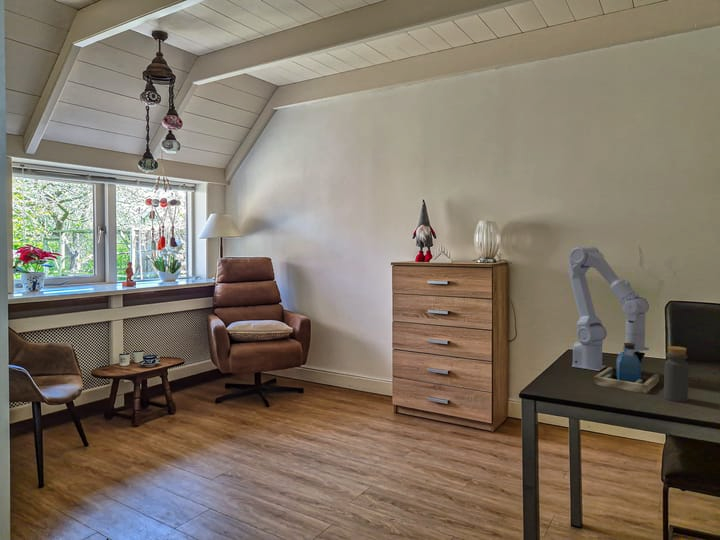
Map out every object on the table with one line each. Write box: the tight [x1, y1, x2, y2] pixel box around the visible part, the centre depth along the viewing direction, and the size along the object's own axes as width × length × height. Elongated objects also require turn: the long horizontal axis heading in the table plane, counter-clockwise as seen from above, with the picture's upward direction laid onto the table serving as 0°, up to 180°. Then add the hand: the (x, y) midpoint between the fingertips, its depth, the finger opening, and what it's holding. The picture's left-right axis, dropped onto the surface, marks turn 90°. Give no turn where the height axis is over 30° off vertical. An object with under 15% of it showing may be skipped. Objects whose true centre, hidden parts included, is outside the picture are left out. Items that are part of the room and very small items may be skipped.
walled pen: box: [593, 366, 660, 394], centre depth 160 cm, size 15×17×2 cm
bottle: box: [663, 345, 690, 403], centre depth 143 cm, size 6×6×15 cm
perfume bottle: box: [615, 342, 642, 383], centre depth 163 cm, size 6×6×12 cm
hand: (634, 373), depth 167 cm, fingers closed, pressing on perfume bottle
